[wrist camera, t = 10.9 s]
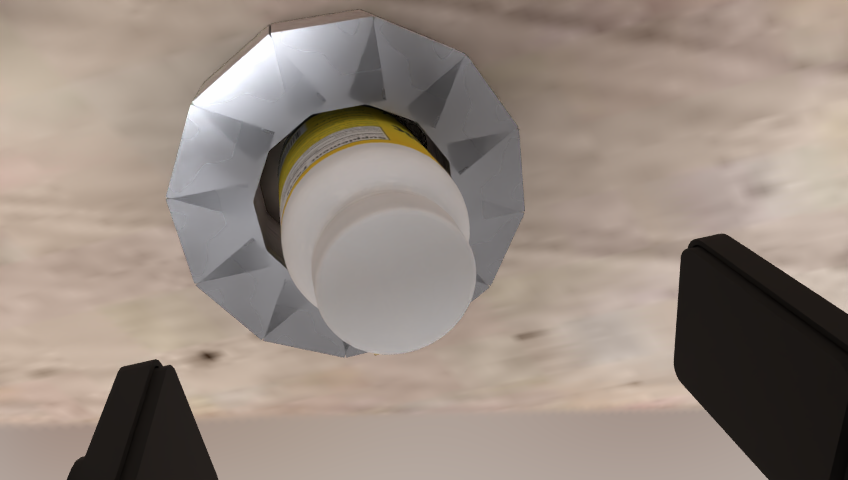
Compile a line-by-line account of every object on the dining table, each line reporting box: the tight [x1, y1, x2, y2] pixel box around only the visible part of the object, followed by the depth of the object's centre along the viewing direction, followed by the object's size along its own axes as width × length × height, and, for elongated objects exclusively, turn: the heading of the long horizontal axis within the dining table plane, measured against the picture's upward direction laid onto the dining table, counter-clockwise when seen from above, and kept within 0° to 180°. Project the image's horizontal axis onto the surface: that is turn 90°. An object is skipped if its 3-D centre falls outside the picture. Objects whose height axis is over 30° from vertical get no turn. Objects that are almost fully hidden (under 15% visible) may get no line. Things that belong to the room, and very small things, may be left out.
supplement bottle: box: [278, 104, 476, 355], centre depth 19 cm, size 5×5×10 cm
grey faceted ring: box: [166, 9, 525, 358], centre depth 22 cm, size 12×12×4 cm
